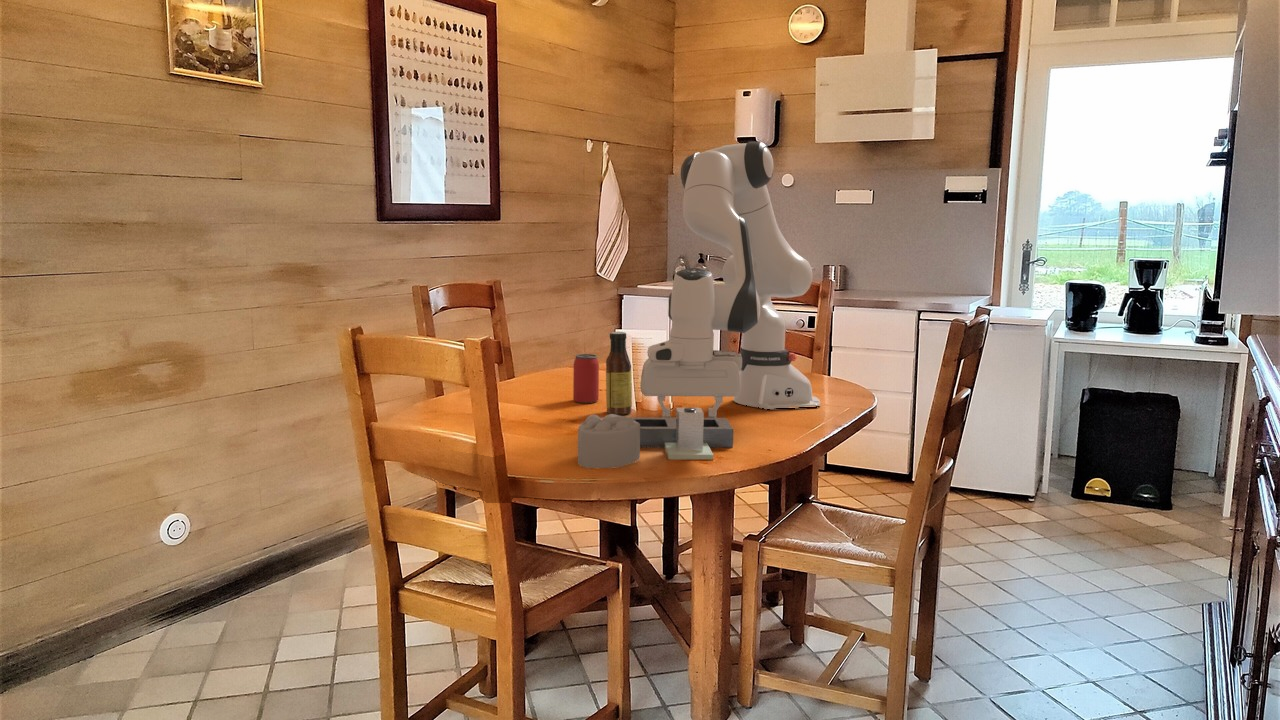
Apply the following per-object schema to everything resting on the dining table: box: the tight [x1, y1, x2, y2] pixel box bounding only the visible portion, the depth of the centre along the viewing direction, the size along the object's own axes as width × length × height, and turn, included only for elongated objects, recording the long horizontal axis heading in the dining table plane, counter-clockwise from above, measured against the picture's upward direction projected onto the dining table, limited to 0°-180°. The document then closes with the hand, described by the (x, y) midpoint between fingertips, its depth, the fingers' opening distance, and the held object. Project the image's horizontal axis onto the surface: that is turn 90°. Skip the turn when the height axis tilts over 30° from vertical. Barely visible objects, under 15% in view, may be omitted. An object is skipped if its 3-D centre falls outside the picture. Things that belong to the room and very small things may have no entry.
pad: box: [663, 443, 714, 460], centre depth 175 cm, size 9×9×1 cm
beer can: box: [572, 353, 600, 404], centre depth 221 cm, size 7×7×12 cm
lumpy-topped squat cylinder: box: [577, 413, 641, 469], centre depth 169 cm, size 10×13×9 cm
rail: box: [628, 416, 734, 448], centre depth 184 cm, size 24×10×4 cm, turn 94°
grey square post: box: [675, 407, 705, 452], centre depth 175 cm, size 5×5×8 cm
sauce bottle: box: [605, 331, 633, 416], centre depth 208 cm, size 6×6×20 cm
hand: (689, 417), depth 174 cm, fingers open, 8 cm apart
